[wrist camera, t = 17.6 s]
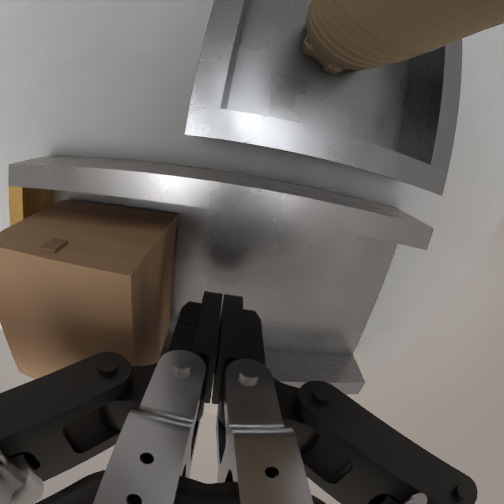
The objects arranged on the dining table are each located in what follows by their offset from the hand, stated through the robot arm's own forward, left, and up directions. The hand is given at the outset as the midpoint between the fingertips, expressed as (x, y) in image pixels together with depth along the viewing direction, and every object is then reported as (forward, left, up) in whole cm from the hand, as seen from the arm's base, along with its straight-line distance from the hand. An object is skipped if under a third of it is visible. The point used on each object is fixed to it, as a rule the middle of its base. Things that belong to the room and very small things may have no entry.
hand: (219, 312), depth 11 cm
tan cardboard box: (0, -5, -3) cm, 6 cm away
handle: (-12, +3, -3) cm, 13 cm away
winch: (-15, +3, -4) cm, 15 cm away
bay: (0, -1, -4) cm, 4 cm away
